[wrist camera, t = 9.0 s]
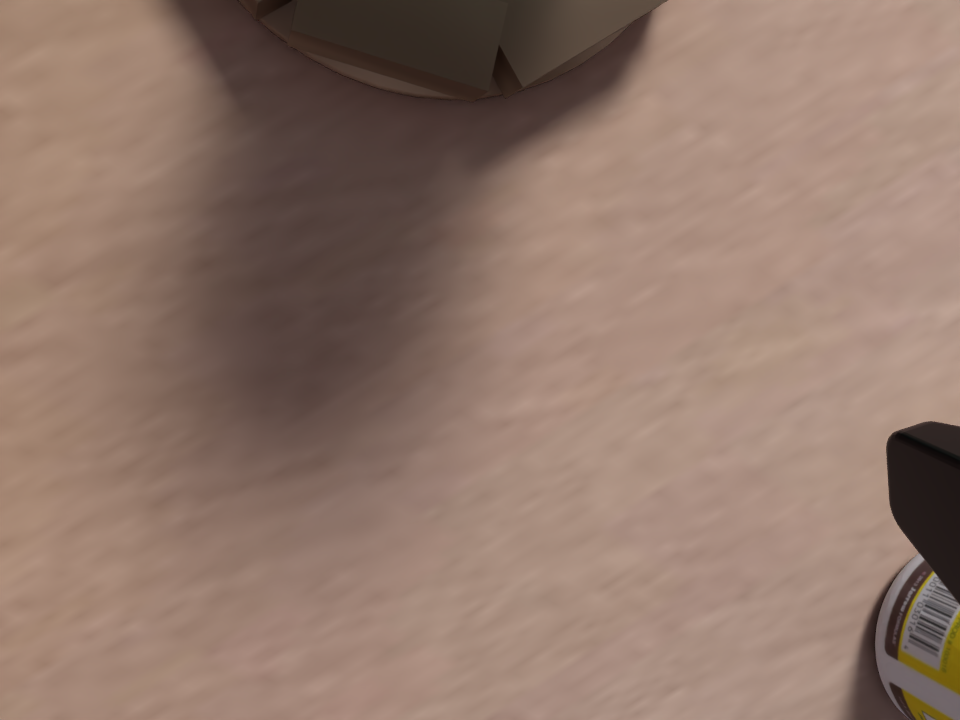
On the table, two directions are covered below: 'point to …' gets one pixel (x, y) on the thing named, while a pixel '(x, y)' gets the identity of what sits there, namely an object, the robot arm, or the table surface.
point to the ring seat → (449, 40)
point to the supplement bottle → (920, 645)
